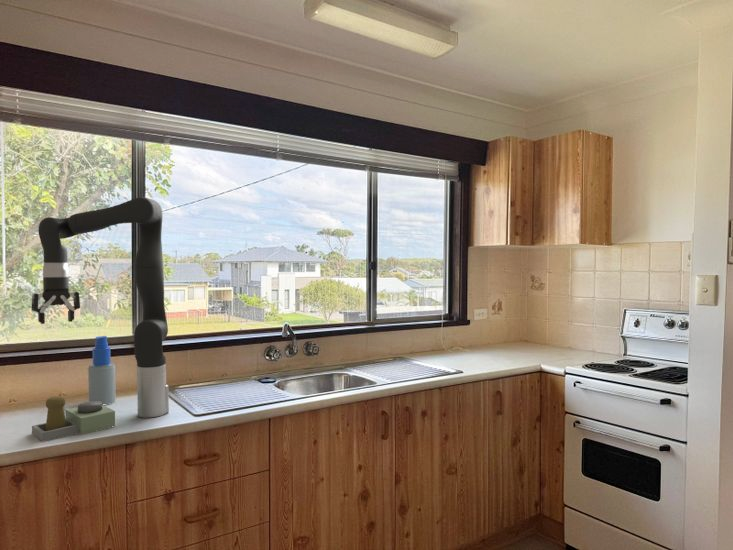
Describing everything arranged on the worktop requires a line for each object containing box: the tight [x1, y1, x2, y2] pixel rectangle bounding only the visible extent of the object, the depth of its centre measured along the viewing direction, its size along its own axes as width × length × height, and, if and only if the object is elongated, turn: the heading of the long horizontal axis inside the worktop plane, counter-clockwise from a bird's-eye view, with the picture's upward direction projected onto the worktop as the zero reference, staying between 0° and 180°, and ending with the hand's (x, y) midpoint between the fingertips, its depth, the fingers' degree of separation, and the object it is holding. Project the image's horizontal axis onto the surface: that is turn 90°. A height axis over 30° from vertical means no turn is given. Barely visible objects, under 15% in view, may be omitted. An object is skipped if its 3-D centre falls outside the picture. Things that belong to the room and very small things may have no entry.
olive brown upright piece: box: [45, 395, 67, 431], centre depth 155 cm, size 6×6×11 cm
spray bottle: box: [87, 335, 117, 406], centre depth 188 cm, size 9×9×25 cm
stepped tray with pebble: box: [31, 401, 116, 442], centre depth 158 cm, size 20×14×7 cm
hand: (56, 322), depth 173 cm, fingers open, 8 cm apart
